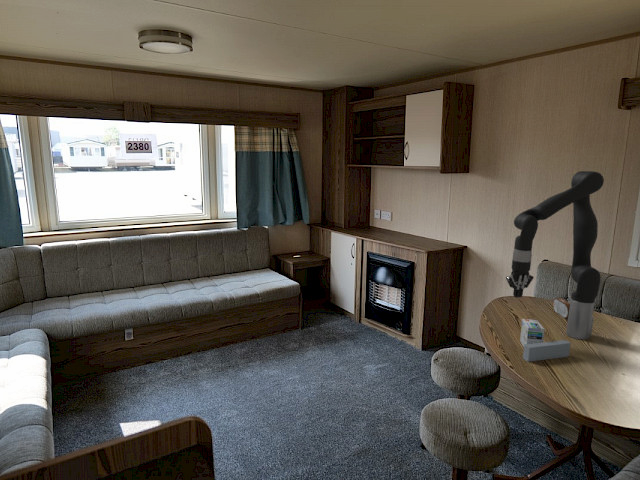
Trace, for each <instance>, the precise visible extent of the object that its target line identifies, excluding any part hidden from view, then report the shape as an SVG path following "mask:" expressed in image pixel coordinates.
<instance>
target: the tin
mask: <svg viewBox="0 0 640 480" xmlns="http://www.w3.org/2000/svg"><path fill="white" fill-rule="evenodd" d="M552 303H553V306H552V309H553V310H554V313H556V314H557V315H559V316H560V317H562V318H563V319H567V320H568V316H569V309H570V301H567V300H566V299H564V298H562V297H555V298H554V299H553V302H552Z"/></svg>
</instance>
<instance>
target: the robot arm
mask: <svg viewBox="0 0 640 480" xmlns="http://www.w3.org/2000/svg"><path fill="white" fill-rule="evenodd" d="M604 182H605V179H604V176H603V175H602V174H601V173H600V172H598V171H595V170H594V171H592V170H591V171H589V170H582V171H580V170H579V171H577V172H576V173H574V175H573V176H572V179H571V182H570V183H571V184H570V185H571V187H570V188H568V189H566V190H564V191H560V192H559V193H557V194H555V195H551V196H550V197H548V198H546V199H544V200H543V201H542V202H540V203H539V204H537V205H536V206H534V207H531V208H528V209H526V210H524V211H522V212H520V213H519V214H517V215H516V216H515V217H514V219H513V225H514V227H515V228H516V229H518V230H521V231H520V234H519V235H517V236H516V237H515V239H514V248H513V252H512V259H511V260H512V261H511V273H510V275H509V276H507V275H506V277H505V279H506V281H507V284H508V285H509V287H510V288H512V289H513V297H514V298H517V299H518V298H523V294H524V290H525V289H526V288H528V287H529V286H530V284H531V282H532V281H533V280H534V276H533V275H531V274H530V271H531V266H532V258H533V257H532V256H533V255H532V250H533V241H534V239H535V237H536V234H537V231H538V228H539V222H538V221H544V220H547V219H548V218H550V217H552V216H554V215H555V214H556V213H558V212H559V211H561V210H563V209H565V208H566V207H567V206H570V205H571V204H572V205H573V206H572V207H573V211H572V212H573V214H572V215H573V216H572V217H573V220H572V221H573V225H572V236H573V237H572V238H573V242H572V243H573V244H572V245H573V247H572V249H573V254H572V263H571V264H572V265H571V270H570V271H571V272H570V273H571V274H570V275H571V278H572V280H573V281H574V282H575V283H577V284H576V289H575V291H572V292H571V295H570V301H569V303H570V309H569V316H568V319H567V325H566V331H565V334H566V335H567V336H568V337H569V338H570V337H571V338H573V339H577V340H588V339H590V338H592V333H593V326H594V317H593V314H594V308H595V307H594V306H595V301H596V298H597V297H598V294H599V290H600V285H601V273H600V271H599V270H598V269H596V268H595V267H592V263H591V262H592V261H591V257H592V256H591V254H592V250H593V248H594V246H595V244H596V242H597V238H598V226H599V224H598V219H597V216H596V214H595V212H594V209H593V208H592V205H591V200H590V199H591V195H592V194H595V193H596V192H598V191H599V190H600V189H601V188H602V187H603V185H604Z"/></svg>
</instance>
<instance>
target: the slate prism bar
mask: <svg viewBox="0 0 640 480" xmlns="http://www.w3.org/2000/svg"><path fill="white" fill-rule="evenodd" d="M570 349H571V342H570V341H568V340H566V339H561V340H553V341H545V342H544V341H543V343H534V344H525V345H524V347H523V354H522V359H523V360H525V361H526V362H527V363H528V362H536V361H544V360H551V359H552V360H553V359H559V358H567V357H569V356H570V351H571V350H570Z"/></svg>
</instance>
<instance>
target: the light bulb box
mask: <svg viewBox="0 0 640 480" xmlns="http://www.w3.org/2000/svg"><path fill="white" fill-rule="evenodd" d="M545 331H546V330H545V327H543V325H542V324H541V323H540V321H539V320H538V319H528V318H522V319H521V330H520V339H519V342H520V344H521V345H522V347H523V348H524V345H525V344H534V343H543V342H544V340H545V339H544V337H545Z"/></svg>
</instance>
